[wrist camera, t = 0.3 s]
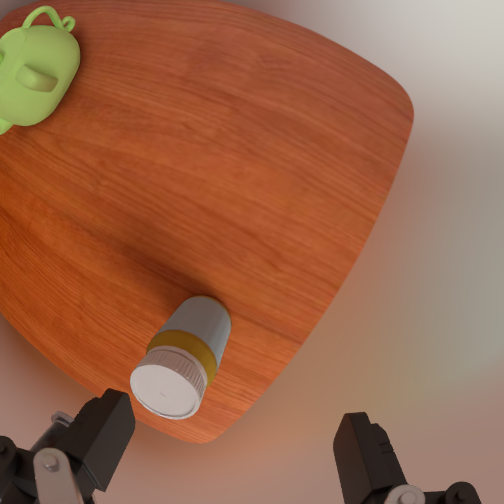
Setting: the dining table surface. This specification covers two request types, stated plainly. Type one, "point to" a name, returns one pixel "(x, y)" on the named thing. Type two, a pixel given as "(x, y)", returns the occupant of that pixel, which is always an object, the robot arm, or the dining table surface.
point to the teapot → (36, 69)
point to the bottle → (182, 358)
